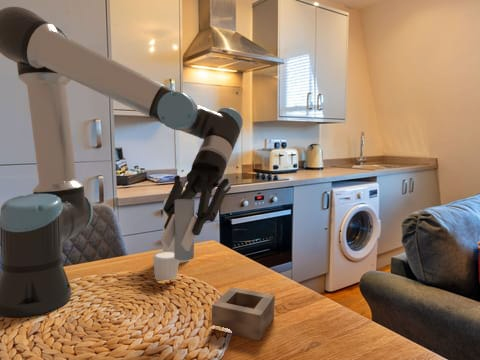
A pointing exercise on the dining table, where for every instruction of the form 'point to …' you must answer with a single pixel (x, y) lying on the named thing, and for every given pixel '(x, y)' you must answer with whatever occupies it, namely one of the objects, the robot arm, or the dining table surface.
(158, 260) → the grey and white cylinder
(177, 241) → the grey cylinder
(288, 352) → the dining table surface
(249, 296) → the socket
